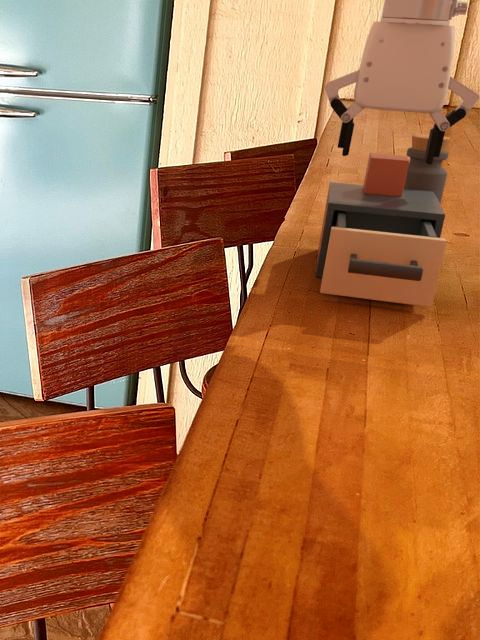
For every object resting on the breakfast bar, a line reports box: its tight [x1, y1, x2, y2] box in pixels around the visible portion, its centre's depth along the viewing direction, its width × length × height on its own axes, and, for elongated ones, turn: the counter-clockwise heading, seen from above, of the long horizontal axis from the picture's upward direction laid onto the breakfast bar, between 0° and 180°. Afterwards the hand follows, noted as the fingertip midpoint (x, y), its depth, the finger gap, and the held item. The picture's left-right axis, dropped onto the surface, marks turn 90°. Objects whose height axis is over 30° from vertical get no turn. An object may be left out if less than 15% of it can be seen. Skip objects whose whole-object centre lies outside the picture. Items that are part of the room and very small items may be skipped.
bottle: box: [404, 133, 451, 206], centre depth 121 cm, size 6×6×15 cm
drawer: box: [319, 211, 448, 308], centre depth 99 cm, size 18×11×7 cm, turn 160°
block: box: [363, 152, 410, 197], centre depth 111 cm, size 4×4×4 cm
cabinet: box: [315, 181, 446, 279], centre depth 110 cm, size 15×13×9 cm
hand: (385, 158), depth 110 cm, fingers open, 9 cm apart
